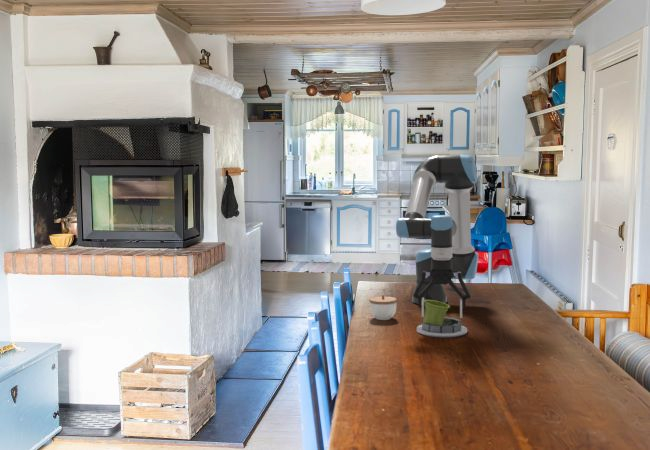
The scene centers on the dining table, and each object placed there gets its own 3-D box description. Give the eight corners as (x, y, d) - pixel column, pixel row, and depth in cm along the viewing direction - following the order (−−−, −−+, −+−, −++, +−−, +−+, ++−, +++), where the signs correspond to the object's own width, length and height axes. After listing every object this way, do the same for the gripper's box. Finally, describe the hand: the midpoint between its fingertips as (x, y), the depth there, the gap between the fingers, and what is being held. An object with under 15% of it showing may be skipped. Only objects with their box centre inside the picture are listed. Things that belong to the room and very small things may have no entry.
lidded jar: (387, 322, 258) (387, 298, 257) (364, 319, 264) (364, 295, 263) (402, 317, 266) (401, 294, 265) (379, 314, 273) (378, 291, 272)
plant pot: (445, 326, 248) (450, 303, 247) (444, 332, 238) (449, 308, 238) (420, 321, 249) (424, 298, 248) (418, 326, 240) (423, 302, 239)
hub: (442, 323, 256) (442, 313, 255) (477, 332, 241) (477, 322, 240) (406, 329, 246) (406, 320, 246) (440, 340, 231) (440, 330, 231)
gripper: (405, 259, 240) (406, 318, 242) (477, 260, 235) (477, 320, 237) (407, 256, 247) (408, 313, 249) (477, 257, 242) (477, 315, 244)
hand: (441, 316), depth 243 cm, fingers open, 13 cm apart
